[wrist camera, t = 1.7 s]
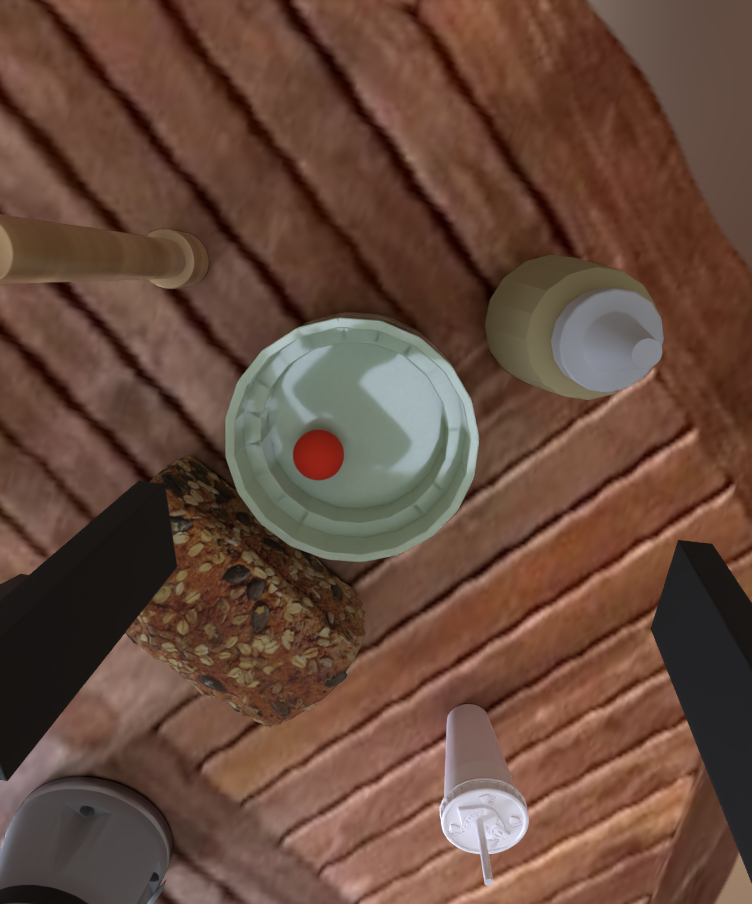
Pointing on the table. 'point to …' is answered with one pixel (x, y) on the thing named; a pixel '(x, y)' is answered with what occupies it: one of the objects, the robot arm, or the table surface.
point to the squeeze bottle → (573, 327)
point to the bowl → (353, 437)
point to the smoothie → (479, 789)
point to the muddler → (97, 254)
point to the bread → (246, 606)
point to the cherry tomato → (318, 455)
